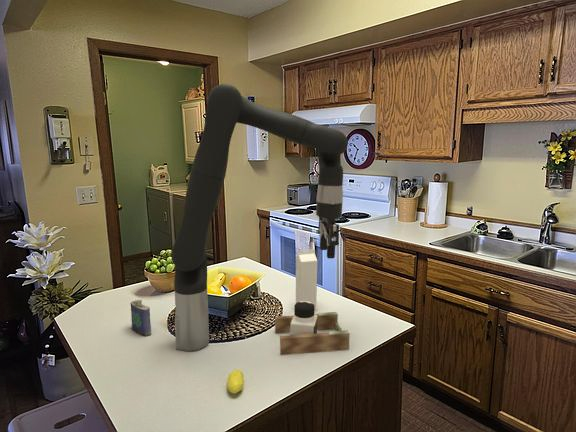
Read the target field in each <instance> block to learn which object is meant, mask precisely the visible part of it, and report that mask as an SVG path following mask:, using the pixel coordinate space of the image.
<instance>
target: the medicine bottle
mask: <svg viewBox="0 0 576 432" xmlns="http://www.w3.org/2000/svg"><path fill="white" fill-rule="evenodd" d="M293 308H294V310H293V313H294V314H293V315H294V316H293V315H292V316H293V319H292V321H291V327H290V333H289V334H290V335H301V334H315V333H318V331H317V315H314V314H315V311H314V310H315V306H314V304H313V303H311V302H308V301H300V302H297V303H296V302H295V303H294V307H293Z"/></svg>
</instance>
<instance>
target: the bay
mask: <svg viewBox="0 0 576 432" xmlns="http://www.w3.org/2000/svg"><path fill="white" fill-rule="evenodd" d="M314 315H317V333H315V334H301V335H288V334H290V327H291V321H292V319H293V316H294V314H293V315H279V316H274V333H275V334H276V335H277V334H278V335H279V334H287V335H280V336H279V338H280V340H279V345H280V346H279V348H280V349H279V351H280V356H286V355H297V354H310V353H320V352H321V353H322V352H323V353H324V352H337V351H347V350H350V335H351V334H350V331H349V330H348V329H347V330H343V329H342V327H341V326H340V324H339V322H338V319H339V314H338V312H337V311H330V312H318V313H314ZM318 331H327V332H320V333H319V332H318Z"/></svg>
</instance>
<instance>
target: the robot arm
mask: <svg viewBox="0 0 576 432" xmlns="http://www.w3.org/2000/svg"><path fill="white" fill-rule="evenodd" d="M206 101H207V102H206V104H207V105H206V113H205V119H204V127H203V131H202V136H201V139H200V142H199V145H198V147H197V150H196V153H195V156H194V159H193V162H192V165H191V168H190V169H191V170H190V173H189V177H188V182H187V186H186V187H187V188H186V191H185V198H184V206H183V214H182V219H181V223H180V226H179V229H178V232H177V235H176V238H175V241H174V242H173V246H172V247H171V250H170V256H171V257H170V258H171V260H172V263H173V265H174V279H173V285H174V287H173V289H174V305H175V307H174V308H175V316H174V329H175V349H176V350H181V351H185V352H194V351H199V350H202V349H204V348H206V347H208V345H209V344H210V329H209V328H210V327H209V307H208V306H209V303H208V302H209V301H208V300H209V297H208V251H207V237H208V232H209V228H210V223H211V221H212V218H213V216H214V213H215V211H216V208H217V206H218V203H219V200H220V196H221V194H222V191H223V187H224V182H225V179H226V174H227V168H228V161H229V155H230V154H229V152H230V145H231V141H232V136H233V133H234V130H235V128H236V124H241V125H247V126H250V127H254V128H256V129H260V130H262V131H264V132H267V133H269V134H272V135H274V136H277V137H279V138H281V139H284V140H286V141H289V142H291V143H295V144H297V145H300V146H304V147H309V148H311V149H312V148H313V149H314V150H317V157H318V166H319V168H318V185H317V190H316V191H317V192H316V208H315V209H316V211H315V214H316V216H317V217H318V228H317V229H318V231H317V234H318V236H319V249H320V251H326V257H327V259H335V257H336V256H335V255H336V246H339V237H340V236H339V235H340V225H339V224H337V223H336V219H339V218H342V216H343V200H344V191H343V189H344V188H343V186H344V184H343V182H344V168H343V166H342V163H341V160H342V159H341V158H342V157H341V156H342V154H343V153H345V151H346V150H347V148H348V145H349V142H348V137H347V136H346V135H345V134H344V132H342V131H340V130H337V129H335V128H333V127H328V126H326V125H321V124H317V123H315V122H312V121H310V120H308V119H306V118H303V117H300V116H298V115H294V114H293V113H289V112H286V111H282V110H277V109H274V108H270V107H266V106H264V105H262V104H261V105H260V103H259V104H258V103H255V102H254V101H252V100H250V99H248V98H246V97H244V96H242V94H241V92H240V90H238V88H237V87H235V86H234V85H232V84H230V83H221V84H218V85H216V86H215V87H213V88H212V89H211V90H210V92H209V93H208V96H207V100H206Z"/></svg>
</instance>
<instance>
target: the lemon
mask: <svg viewBox="0 0 576 432" xmlns="http://www.w3.org/2000/svg"><path fill="white" fill-rule="evenodd" d="M244 383H245V379H244V373H243V371H242V370H241V369H234V370H232V371H231V372H230V373H229V374H228V377H227V380H226V387H227V389H228V391H229V392H230V393H231V394H233V395H234V394H238V392H240V391H242V390H243V388H244Z"/></svg>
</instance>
